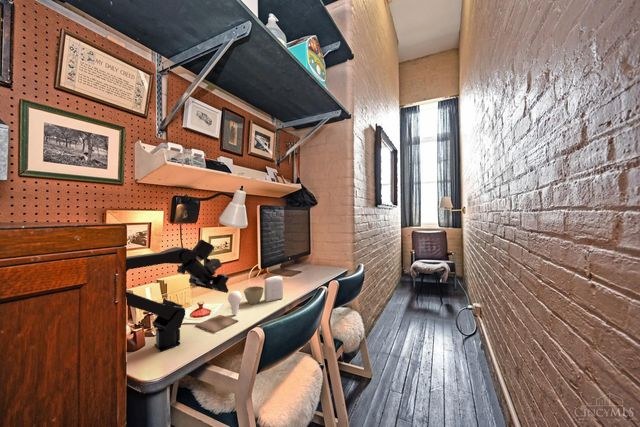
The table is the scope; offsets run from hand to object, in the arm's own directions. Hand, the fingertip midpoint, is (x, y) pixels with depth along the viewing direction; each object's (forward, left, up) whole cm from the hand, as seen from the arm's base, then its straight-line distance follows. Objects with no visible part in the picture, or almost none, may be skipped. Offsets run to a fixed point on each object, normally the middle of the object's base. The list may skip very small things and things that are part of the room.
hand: (220, 290), depth 110 cm
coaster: (-2, -1, -13) cm, 14 cm away
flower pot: (+23, +9, -14) cm, 28 cm away
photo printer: (+33, +5, -14) cm, 36 cm away
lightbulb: (+8, +2, -14) cm, 16 cm away
